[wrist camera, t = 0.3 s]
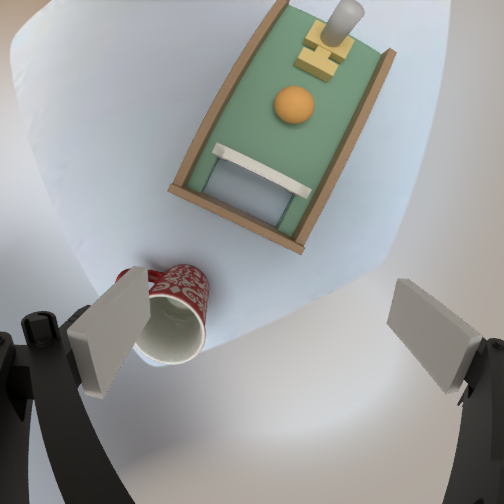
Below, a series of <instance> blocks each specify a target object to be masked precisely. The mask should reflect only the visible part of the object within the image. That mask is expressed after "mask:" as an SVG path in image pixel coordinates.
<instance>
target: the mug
mask: <svg viewBox="0 0 504 504" xmlns="http://www.w3.org/2000/svg"><path fill="white" fill-rule="evenodd" d="M130 269H131V268H130ZM130 269H126V270H123V271H122V272H121V273H120V274H119V275H118V277H117V279H116V281H115V283H116V282H117V281H118V280H119V279H120V278H121V277H122V276H123V275H124V274H126V273H127V272H128V271H129V270H130ZM148 281H149V282H153V283H155V285H154V286H153V287H152V288H151V289H150V290H149V301H150V313H151V317H150V319H149V320H148V322H147V324H146V325H145V327H144V329H143V330H142V332H141V334H140V335H139V337H138V339H137V340H136V342H135V344H134V345H135V346H136V347H137V348H138V349H139V351H141V352H142V353H143V354H144V355H145V356H147V357H149V358H150V359H152V360H154V361H157V362H160V363H164V364H181V363H184V362H187V361H189V360H191V359H193V358H194V357H195V356H197V355H198V354H199V352H200V351H201V349H202V348H203V345H204V343H205V336H206V332H205V321H206V311H207V302H208V295H209V285H208V281H207V279H206V277H205V276H204V274H203V273H202V272H201V271H200V270H198V269H197V268H195V267H193V266H190V265H177V266H174V267H172V268H170V269H169V270H168V271H167V272H166V273H165V272H158V271H154V270H148Z"/></svg>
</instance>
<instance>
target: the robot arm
mask: <svg viewBox="0 0 504 504" xmlns="http://www.w3.org/2000/svg"><path fill="white" fill-rule="evenodd" d="M150 317H151V313H150V301H149V287H148V269H147V267H137V266H133V267H132V268H131V269H130V270H129V271H128V272H127V273H126V274H124V275H123V276H122V277H121V278H120V279H119V280H118V281H117V282H116V283H115V284H114V285H113V286H111V287H110V288H109V289H108V290H107V291H106V292H105V293H104V294H103V295H102V296H101V297H100V298H99V299H98V300H97V301H96V302H95V303H94V304H93V305H87V306H85V307H83V308H81V309H78V310H77V311H76V312H75V313H74V314H73V315H72V316H71V317H70V318H69V319H68V321H66V322H65V323H64V324H63V325H62V326H61V327H59V328H58V324H57V320H56V316H55V315H54V314H53V313H51V312H47V311H38V312H34V313H31V314H29V315H27V316H25V317H24V318H23V319H22V321H21V326H22V329H23V332H24V336H25V339H26V343H27V345H14V343H13V340H12V337H11V335H10V334H9V333H7V332H0V504H29V489H28V451H29V433H30V421H31V411H32V403H33V400H35V406H36V411H37V415H38V420H39V424H40V429H41V432H42V437H43V440H44V444H45V448H46V451H47V454H48V458H49V461H50V464H51V467H52V470H53V473H54V476H55V479H56V481H57V484H58V487H59V489H60V492H61V494H62V497H63V499H64V502H65V504H135V502H134V501H133V499H132V498H131V496H130V495H129V493H128V491H127V490H126V488H125V487H124V485H123V483H122V482H121V480H120V479H119V477H118V475H117V473H116V471H115V469H114V468H113V466H112V464H111V462H110V460H109V458H108V457H107V455H106V453H105V451H104V449H103V447H102V445H101V443H100V441H99V439H98V437H97V435H96V433H95V430H94V428H93V426H92V424H91V421H90V419H89V417H88V415H87V412H86V410H85V408H84V405H83V402H82V400H81V397H80V395H79V392H78V389H77V388H78V387H79V385H80V384H81V383H82V386H83V389H84V392H85V394H86V395H89V396H93V397H97V398H101V399H104V397H105V395H106V393H107V392H108V390H109V388H110V386H111V384H112V383H113V381H114V379H115V377H116V375H117V373H118V372H119V370H120V368H121V366H122V365H123V363H124V361H125V359H126V358H127V356H128V354H129V352H130V351H131V349H132V347H133V346H134V344H135V342H136V340H137V339H138V337H139V335H140V334H141V332H142V330H143V329H144V327H145V325H146V324H147V322H148V320H149V319H150ZM387 325H388V326H389V327H390V328H391V329H392V330H393V331H394V333H395V334H396V335H397V336H398V337H399V338H400V340H401V341H402V342H403V343H404V344H405V346H406V347H407V348H408V349H409V350H410V351H411V353H412V354H413V355H414V356H415V357H416V359H417V360H418V361H419V362H420V363H421V365H422V366H423V367H424V368H425V369H426V371H427V372H428V373H429V374H430V376H431V377H432V378H433V379H434V381H435V382H436V383H437V384H438V386H439V387H440V388H441V389H442V391H443V392H444V393H445V394H446V395H447V394H450V393H454V392H458V390H459V388H460V386H461V384H462V382H463V380H465V381H466V382H467V383H468V385H467V387H466V389H465V391H464V393H463V395H462V397H461V399H460V400H459V402H458V404H457V405H458V406H459V405H460V403H461V402H463V406H462V407H463V410H462V418H461V425H460V432H459V437H458V443H457V448H456V453H455V458H454V463H453V467H452V471H451V475H450V479H449V483H448V486H447V490H446V493H445V496H444V500H443V503H442V504H504V341H503V340H501V339H496V338H490V339H488V340H486V339H484V338H483V335H481V334H480V333H479V332H478V331H476V330H475V329H474V328H473V327H471V326H470V325H469V324H468V323H466V322H465V321H464V320H462V319H461V318H460V317H459V316H457V315H456V314H455V313H453V312H452V311H451V310H450V309H448V308H447V307H446V306H444V305H443V304H442V303H440V302H439V301H438V300H436V299H435V298H434V297H433V296H431V295H430V294H428V293H427V292H426V291H424V290H423V289H421V288H420V287H419V286H418V285H416V284H415V283H413V282H412V281H411V280H409V279H397V282H396V287H395V291H394V296H393V300H392V305H391V308H390V312H389V316H388V320H387Z"/></svg>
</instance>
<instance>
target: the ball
mask: <svg viewBox="0 0 504 504" xmlns="http://www.w3.org/2000/svg"><path fill="white" fill-rule="evenodd" d="M314 107H315V104H314V100H313V97H312V95H311V94H310V93H309V92H308V91H307V90H306V89H304V88H302V87H299V86H289V87H286V88H284V89H282V90H281V91H280V92H279V93H278V94H277V96H276V98H275V101H274V108H275V111H276V113H277V115H278V116H279V117H280V118H281V119H282V120H283V121H285V122H287V123H291V124H299V123H303V122H305V121H307V120H308V119H309V118H310V117H311V115H312V114H313V112H314Z"/></svg>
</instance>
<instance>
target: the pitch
mask: <svg viewBox="0 0 504 504" xmlns="http://www.w3.org/2000/svg"><path fill="white" fill-rule="evenodd" d="M289 1H290V0H277V1H276V2H275V4H274V5H273V7H272V8H271V9H270V11H269V12H268V14H267V15H266V17H265V18H264V19H263V21H262V22H261V24H260V25H259V27H258V28H257V30H256V31H255V33H254V34H253V36H252V37H251V39H250V41H249V42H248V44H247V45H246V47H245V48H244V50H243V52H242V53H241V55H240V56H239V58H238V60H237V61H236V63H235V65H234V66H233V68H232V70H231V71H230V73H229V75H228V76H227V78H226V80H225V82H224V83H223V85H222V87H221V89H220V90H219V92H218V94H217V96H216V98H215V99H214V101H213V103H212V105H211V107H210V109H209V110H208V112H207V114H206V116H205V118H204V120H203V122H202V124H201V126H200V128H199V129H198V131H197V133H196V135H195V137H194V139H193V141H192V143H191V145H190V147H189V150H188V152H187V154H186V156H185V158H184V160H183V162H182V164H181V166H180V168H179V171H178V173H177V175H176V177H175V179H174V182H173V183H172V184H170V186H169V189H168V192H170V193H172V194H174V195H176V196H178V197H181V198H183V199H185V200H187V201H189V202H191V203H194V204H196V205H198V206H200V207H202V208H204V209H206V210H208V211H211V212H213V213H215V214H217V215H219V216H221V217H223V218H225V219H227V220H230V221H232V222H234V223H236V224H238V225H240V226H242V227H244V228H246V229H248V230H250V231H252V232H255V233H257V234H259V235H261V236H263V237H265V238H267V239H269V240H271V241H273V242H275V243H277V244H279V245H281V246H283V247H285V248H288V249H290V250H292V251H294V252H296V253H298V254H300V255H302V253H303V251H304V249H305V248H304V244H305V242H306V240H307V238H308V237H309V235H310V233H311V231H312V229H313V227H314V225H315V223H316V221H317V220H318V218H319V216H320V214H321V212H322V210H323V208H324V206H325V204H326V202H327V200H328V198H329V196H330V194H331V192H332V190H333V188H334V186H335V184H336V182H337V180H338V178H339V176H340V174H341V172H342V170H343V168H344V166H345V164H346V162H347V160H348V158H349V156H350V154H351V152H352V150H353V148H354V146H355V144H356V142H357V140H358V138H359V135H360V133H361V131H362V129H363V127H364V125H365V123H366V121H367V118H368V116H369V114H370V112H371V110H372V108H373V105H374V103H375V101H376V99H377V97H378V94H379V92H380V90H381V88H382V86H383V83H384V81H385V79H386V76H387V74H388V72H389V70H390V67H391V65H392V63H393V60H394V58H395V56H396V53H397V52H395V51H394V50H392V49H391V48H389V49H388V50H386V51H385V52H384V53H383V54H380V53H379V52H377V51H376V50H374V49H372V48H371V47H369V46H368V45H366V44H364V43H363V42H361V41H359V40H358V39H356V38H354V37H353V36H351V35H349V34H348V35H347V36H349V37H350V38H352V39H354V40H355V41H354V43H353V45H352V47H351V49H350V51H349V53H348V54H347V56H346V58H345V60H344V61H343V62H342V63H341V64H340V63H338V62H336V61H335V60H333V59H331V58H328V59H329V60H330V61H332V62H334V63H336V64H338V67H337V69H336V71H335V73H334V75H333V77H332V78H331V79H330V80H329V81H328V82H327V83H326V82H325V81H323V80H321V79H319V78H317V77H315V76H313V75H311V74H310V73H308V72H306V71H304V70H302V69H300V68H298V67H296V66H294V64H295V62H296V60H297V58H298V56H299V55H300V53H301V51H302V49H303V48H304V47H305V48H307V49H309V50H311V51H313V52H315V50H314V49H312V48H310V47H308V46H306V45H304V44H303V41H304V39H305V37H306V36H307V34H308V32H309V31H310V29H311V28H312V26H313V24H314V23H315V21H316V20H318V21H320V22H322V23H324V24H327V22H325V21H323V20H321V19H319V18H317V17H315V16H312V15H310V14H308V13H306V12H304V11H302V10H299V9H297V8H295V7H292V6H290V5H288V4H289ZM289 86H299V87H302V88H304V89H306V90H307V91H308V92H309V93H310V94H311V95H312V97H313V100H314V104H315V107H314V112H313V114H312V115H311V117H310V118H309V119H308V120H307V121H305V122H303V123H299V124H291V123H287V122H285V121H283V120H282V119H281V118H280V117H279V116H278V115H277V113H276V111H275V108H274V101H275V98H276V96H277V94H278V93H279V92H280V91H281V90H282V89H284V88H286V87H289ZM218 158H221V159H223V160H225V161H227V160H229V161H231V162H233V163H235V164H237V165H240V166H242V167H244V168H246V169H248V170H250V171H252V172H254V173H256V174H258V175H260V176H262V177H264V178H266V179H268V180H270V181H272V182H274V183H276V184H278V185H280V186H282V187H284V188H286V191H288V192H290V193H292V194H293V196H292V198H291V200H290V202H289V204H288V206H287V208H286V209H285V211H284V213H283V215H282V217H281V219H280V221H279V223H278V225H277V227H274V226H272V225H270V224H268V223H266V222H264V221H261V220H259V219H257V218H255V217H253V216H251V215H249V214H247V213H245V212H243V211H241V210H239V209H237V208H235V207H232V206H230V205H228V204H226V203H224V202H222V201H220V200H218V199H216V198H214V197H211V196H209V195H207V194H205V193H203V189H204V187H205V185H206V183H207V181H208V179H209V177H210V175H211V173H212V171H213V169H214V167H215V165H216V163H217V160H218Z"/></svg>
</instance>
